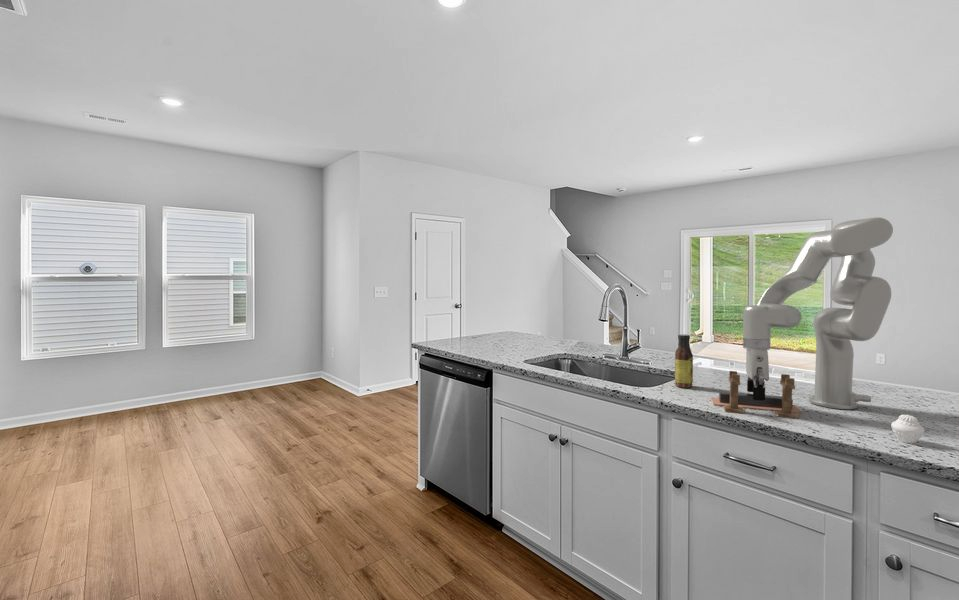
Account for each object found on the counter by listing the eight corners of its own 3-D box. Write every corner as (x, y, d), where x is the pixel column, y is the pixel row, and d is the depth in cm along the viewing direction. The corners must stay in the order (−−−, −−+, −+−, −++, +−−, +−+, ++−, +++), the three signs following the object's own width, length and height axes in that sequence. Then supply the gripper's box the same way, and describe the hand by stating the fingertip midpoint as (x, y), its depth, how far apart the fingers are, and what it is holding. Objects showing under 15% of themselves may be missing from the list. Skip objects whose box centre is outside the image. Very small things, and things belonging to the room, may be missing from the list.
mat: (794, 406, 143) (794, 404, 143) (802, 413, 136) (802, 412, 135) (711, 398, 152) (711, 397, 152) (714, 405, 144) (714, 404, 144)
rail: (789, 406, 141) (790, 397, 141) (792, 409, 138) (792, 399, 138) (719, 400, 149) (719, 391, 148) (720, 402, 146) (720, 393, 146)
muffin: (927, 442, 112) (929, 415, 111) (918, 447, 109) (920, 419, 108) (895, 435, 117) (896, 409, 117) (886, 439, 114) (887, 413, 114)
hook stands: (793, 413, 136) (794, 375, 135) (799, 419, 130) (800, 379, 129) (723, 407, 143) (724, 370, 142) (725, 412, 137) (726, 374, 136)
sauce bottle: (694, 389, 165) (695, 336, 164) (676, 388, 166) (677, 335, 165) (690, 384, 171) (691, 333, 170) (672, 384, 173) (673, 333, 171)
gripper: (776, 348, 133) (775, 404, 134) (764, 340, 149) (763, 390, 150) (748, 347, 136) (747, 402, 137) (738, 339, 152) (738, 388, 153)
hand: (755, 395), depth 144 cm, fingers open, 9 cm apart
